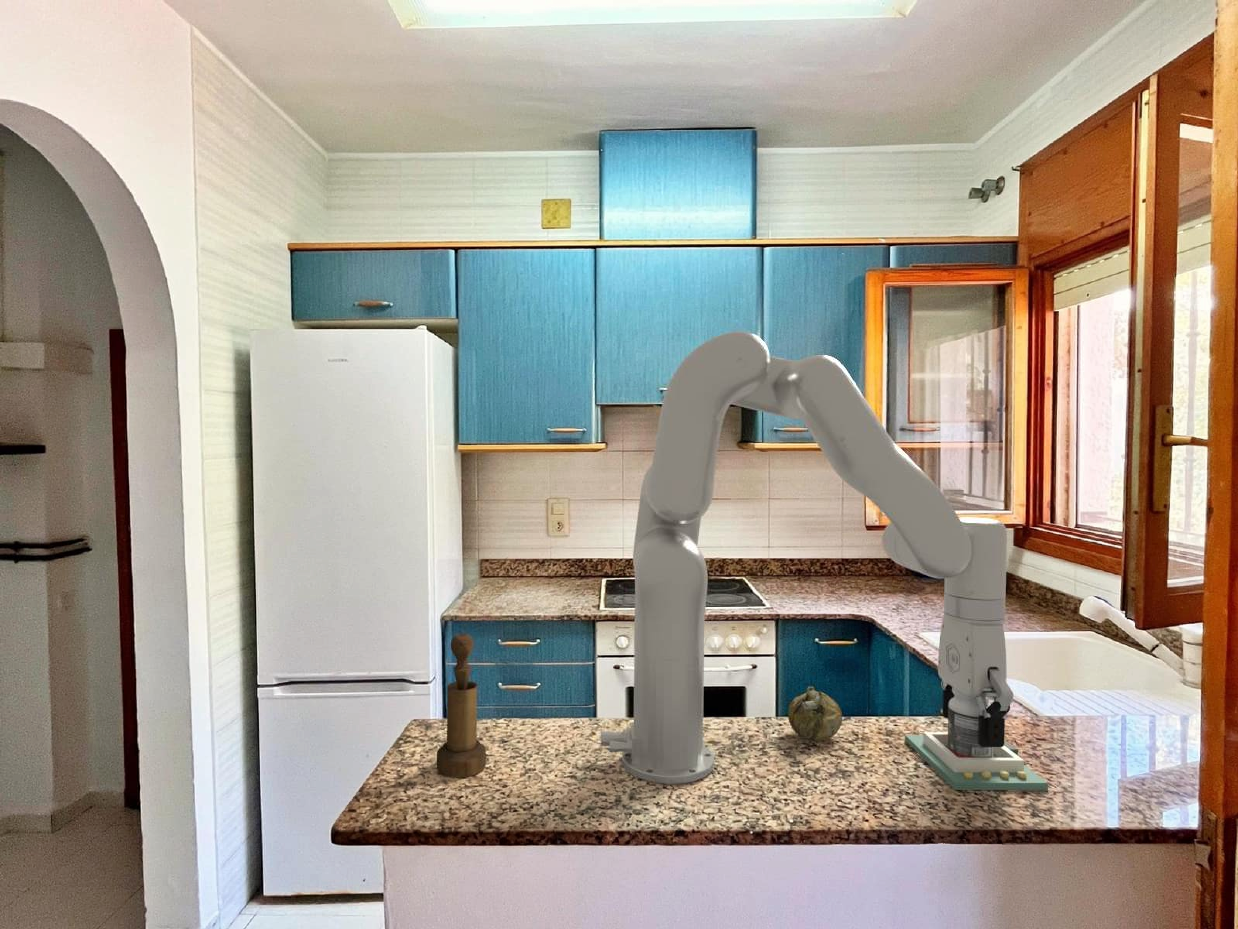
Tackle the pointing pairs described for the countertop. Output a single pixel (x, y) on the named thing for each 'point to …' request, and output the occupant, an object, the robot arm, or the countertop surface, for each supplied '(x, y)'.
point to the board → (976, 766)
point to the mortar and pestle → (461, 719)
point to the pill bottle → (965, 727)
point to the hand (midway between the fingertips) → (971, 731)
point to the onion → (815, 716)
